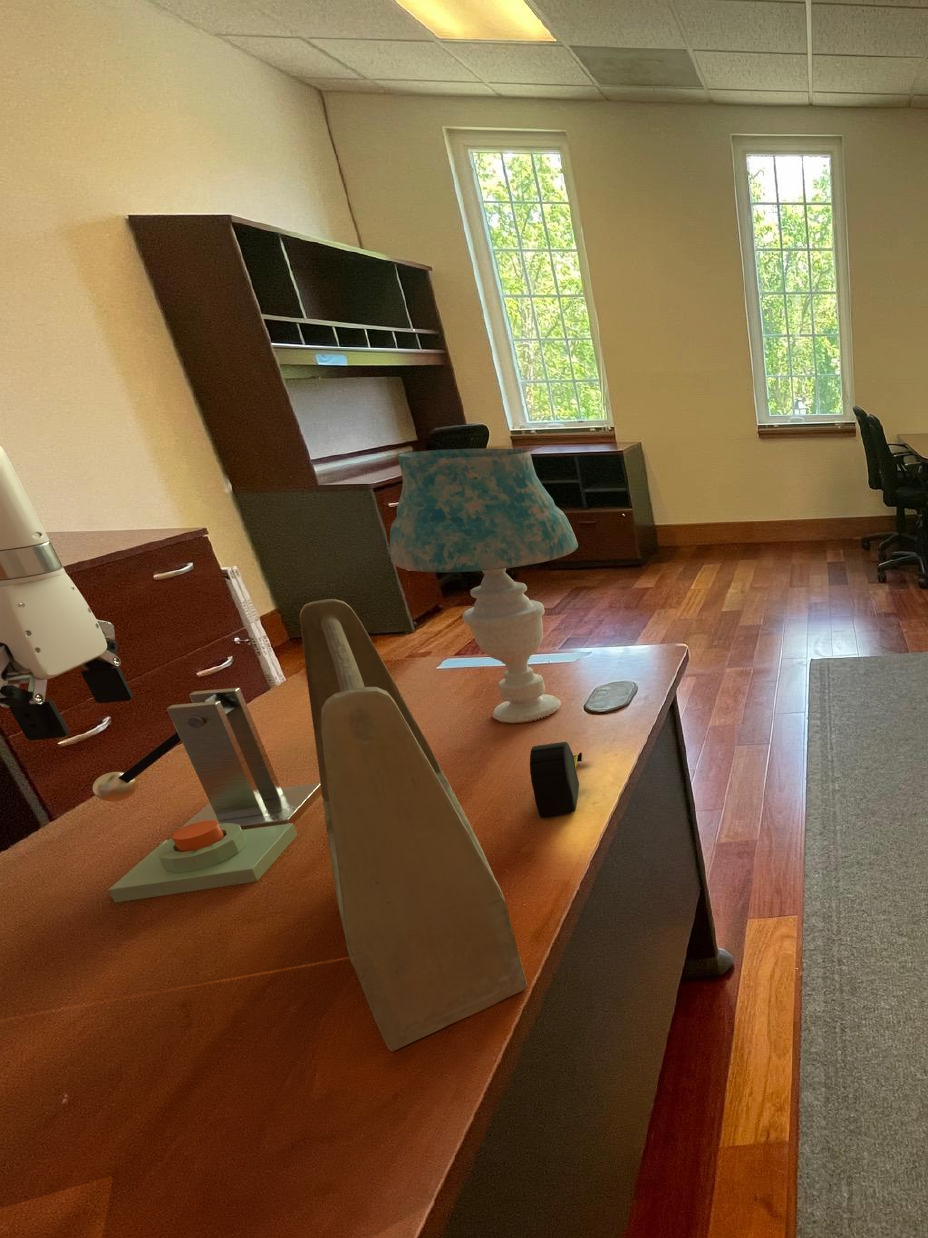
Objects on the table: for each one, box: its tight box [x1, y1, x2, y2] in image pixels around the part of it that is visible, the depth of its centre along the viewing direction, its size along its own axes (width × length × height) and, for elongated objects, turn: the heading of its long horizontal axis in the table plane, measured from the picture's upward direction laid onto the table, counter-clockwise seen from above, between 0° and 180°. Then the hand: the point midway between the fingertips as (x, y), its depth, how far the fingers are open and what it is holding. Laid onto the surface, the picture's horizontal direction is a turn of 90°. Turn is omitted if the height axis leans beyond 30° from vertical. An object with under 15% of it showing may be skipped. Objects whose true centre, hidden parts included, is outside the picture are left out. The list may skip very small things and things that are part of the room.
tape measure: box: [529, 741, 583, 818], centre depth 92 cm, size 15×4×8 cm, turn 21°
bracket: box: [166, 687, 322, 830], centre depth 84 cm, size 11×9×16 cm
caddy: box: [299, 598, 528, 1053], centre depth 63 cm, size 29×11×30 cm, turn 41°
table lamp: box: [389, 447, 579, 724], centre depth 108 cm, size 24×24×40 cm
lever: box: [92, 694, 235, 803], centre depth 82 cm, size 17×3×3 cm
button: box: [171, 820, 224, 852], centre depth 76 cm, size 4×4×2 cm
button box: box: [108, 823, 298, 903], centre depth 77 cm, size 12×9×4 cm
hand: (84, 718), depth 78 cm, fingers open, 9 cm apart
